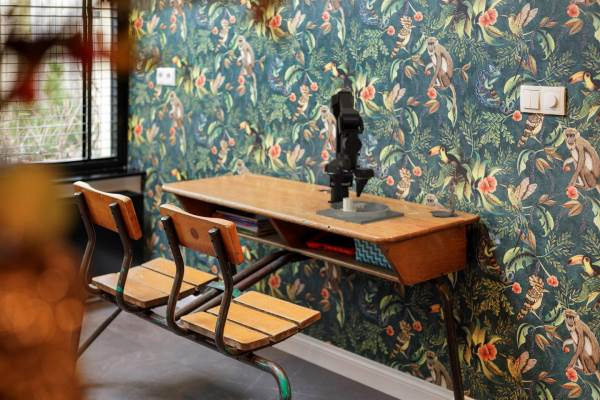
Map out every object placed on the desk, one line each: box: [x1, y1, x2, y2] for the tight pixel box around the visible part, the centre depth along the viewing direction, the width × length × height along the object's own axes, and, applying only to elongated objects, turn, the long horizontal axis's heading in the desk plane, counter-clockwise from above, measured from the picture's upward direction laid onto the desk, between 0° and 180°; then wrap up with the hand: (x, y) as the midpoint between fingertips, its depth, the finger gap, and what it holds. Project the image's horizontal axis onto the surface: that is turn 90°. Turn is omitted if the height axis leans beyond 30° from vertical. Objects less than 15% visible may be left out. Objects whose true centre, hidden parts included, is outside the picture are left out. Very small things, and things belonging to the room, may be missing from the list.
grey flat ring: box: [329, 200, 391, 218], centre depth 278 cm, size 21×21×2 cm
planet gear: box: [340, 197, 356, 212], centre depth 273 cm, size 6×6×6 cm
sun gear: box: [353, 202, 367, 212], centre depth 277 cm, size 5×5×3 cm
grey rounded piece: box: [431, 187, 457, 218], centre depth 277 cm, size 8×8×10 cm
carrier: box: [315, 207, 405, 225], centre depth 278 cm, size 22×22×3 cm
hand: (348, 195), depth 272 cm, fingers open, 9 cm apart
